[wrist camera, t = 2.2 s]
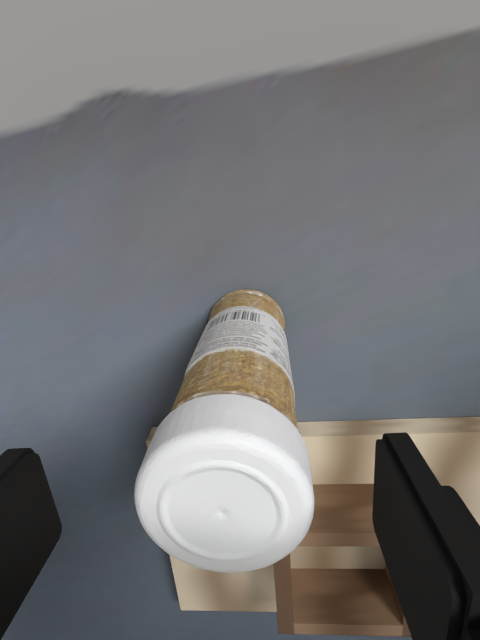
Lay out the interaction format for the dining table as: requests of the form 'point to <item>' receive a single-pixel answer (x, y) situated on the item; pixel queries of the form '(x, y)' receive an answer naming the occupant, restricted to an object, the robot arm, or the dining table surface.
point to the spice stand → (340, 533)
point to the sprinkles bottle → (230, 448)
